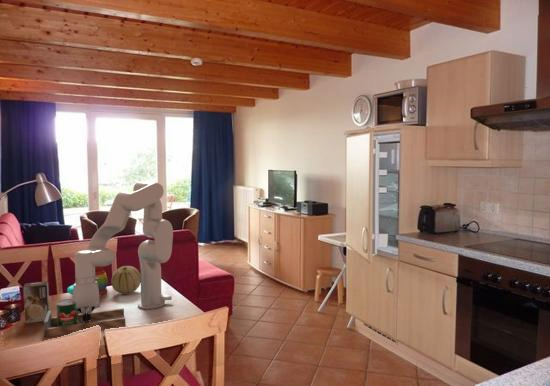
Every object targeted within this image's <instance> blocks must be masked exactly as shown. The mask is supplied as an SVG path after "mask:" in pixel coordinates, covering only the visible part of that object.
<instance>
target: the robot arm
mask: <svg viewBox="0 0 550 386" xmlns="http://www.w3.org/2000/svg"><path fill="white" fill-rule="evenodd" d="M132 188H133V191H121V192H118V193H117V194H116V196H115V197H114V200H113V202H112V205H111V207H110V209H109V212H108V214H107V217H106V218H105V220H104V223H103V224H102V225H101V226H100V227H99V228H98V229H97V230H96V231H95V233H94V234H93V236H92V238H91V239H90V241H89V244H88V246H87V248H86V250H85V249H84V250H79V251H76V252H75V254H74V272H75V277H74V278H75V283H73V285H74V286H73V295H72V299H73V303H76V308H78V313H79V314H82V315H83V321H82V322H84V323H89V322H90V321H91V322H92V320H91V312H94V311H95V310H96V309H98V308H99V309H100V308H101V303H100V296H99V288H98V283H97V281H95V280H97V279H99V276H96V275H95V267H96V266H104V267H107V266H110V265H111V264H113V263H114V262H115V259H116V253H115V252H114V250H112V249H110V248H106V246H107V244H108V242H109V240H110V239H111V238H112V237H113V236H115V235H116V234H119V232H122V231H123V230H124V229H125V227H126V225H127V223H128V220H129V217H130V216H131V215H130V214H131V213H132V212H138V211H140V210H143V219H142V221H143V222H142V233H143V235H144V236H145V237H148V238H152V239H154V240H152V239H146V240H144V241H142V242H141V243H140V244H139V246H138V249H137V254H138V260H139V266H140V268H139V269H140V270H139V271H140V275H141V283H140V301H139V302H138V303H137V307H138V308H140V309H141V310H155V308H156V309H158V308H159V309H160V308H161V306H162V307H164V306H165V305H166V301H170V300H172V295H168V294H166V295H163V294H162V267H161V264H164V263H166V262H168V261H169V259H170V258H171V256H172V252H173V251H172V250H173V240H174V239H173V238H174V229H173V225H172V223H171V222H170V221H169V220H167V219H164V218H163V205H162V202H161V199H162V198H163V196H164V191H165V189H164V187H163V185H162V184H161V183H160V182H157V181H146V180H145V181H138V182H136V183H134V185H133V187H132ZM164 304H165V305H164ZM163 305H164V306H163ZM86 308H87V312H86Z"/></svg>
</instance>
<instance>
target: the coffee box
mask: <svg viewBox="0 0 550 386" xmlns="http://www.w3.org/2000/svg"><path fill="white" fill-rule="evenodd" d="M22 289H23V306H24V323H26V324H32V323H38V322H39V323H41V322H44V321H45V318H46V315H47V313H48V311H51V310H50V294H49V281H47V280H46V281H36V282H28V283H24V285H23V288H22Z"/></svg>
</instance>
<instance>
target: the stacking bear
mask: <svg viewBox="0 0 550 386" xmlns="http://www.w3.org/2000/svg"><path fill="white" fill-rule="evenodd" d="M104 269H105V266H96V267H95V275H96V276H99V279H97V280H95V281H97V283H98V288H99V297H100V296H104V295H107V293H108V291H109V290H108V289H107V286H108V277H107V273H106V272H105V270H104Z"/></svg>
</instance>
